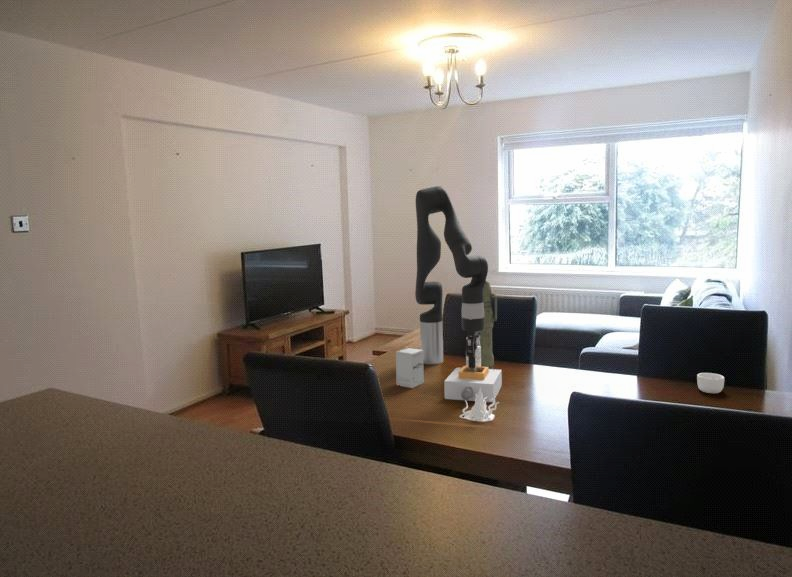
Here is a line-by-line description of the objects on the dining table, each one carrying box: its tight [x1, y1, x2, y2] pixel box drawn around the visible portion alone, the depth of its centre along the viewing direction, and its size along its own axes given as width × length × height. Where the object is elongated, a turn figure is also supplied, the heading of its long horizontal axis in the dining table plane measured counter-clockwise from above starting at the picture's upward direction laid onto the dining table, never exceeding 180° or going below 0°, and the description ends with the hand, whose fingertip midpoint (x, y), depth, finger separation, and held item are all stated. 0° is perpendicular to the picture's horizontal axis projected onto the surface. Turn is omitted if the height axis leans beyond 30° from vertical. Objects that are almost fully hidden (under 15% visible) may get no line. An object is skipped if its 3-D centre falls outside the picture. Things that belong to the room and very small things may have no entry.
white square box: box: [443, 365, 503, 403], centre depth 185 cm, size 22×16×8 cm
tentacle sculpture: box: [459, 387, 500, 422], centre depth 163 cm, size 9×12×9 cm
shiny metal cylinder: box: [465, 345, 481, 372], centre depth 186 cm, size 5×5×10 cm
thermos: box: [478, 280, 498, 369], centre depth 211 cm, size 9×12×35 cm
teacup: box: [696, 372, 725, 394], centre depth 180 cm, size 10×8×5 cm
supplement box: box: [395, 347, 425, 389], centre depth 198 cm, size 7×7×13 cm
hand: (473, 365), depth 186 cm, fingers closed on shiny metal cylinder, 5 cm apart
